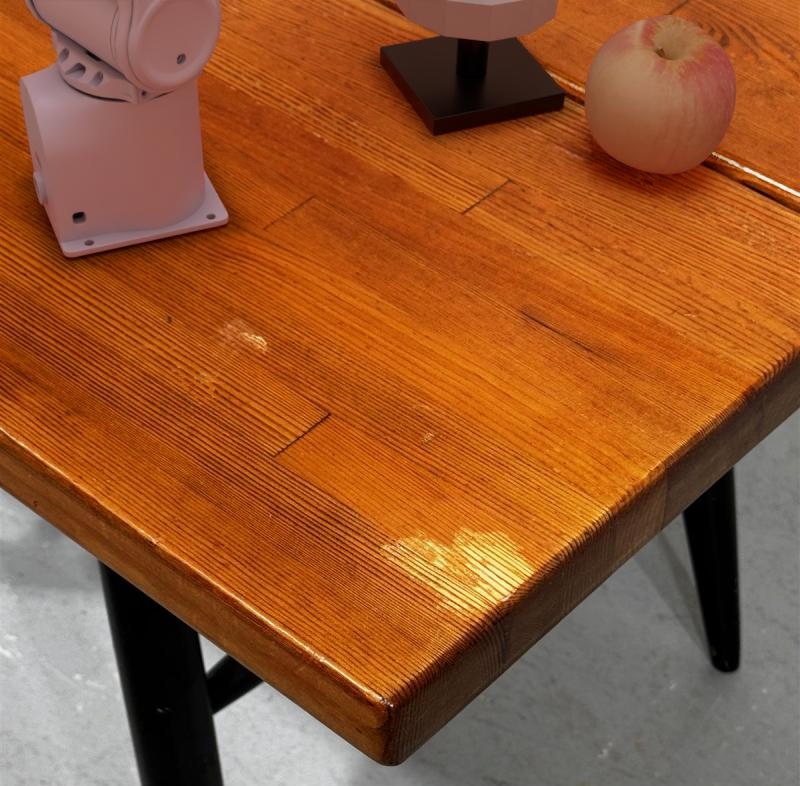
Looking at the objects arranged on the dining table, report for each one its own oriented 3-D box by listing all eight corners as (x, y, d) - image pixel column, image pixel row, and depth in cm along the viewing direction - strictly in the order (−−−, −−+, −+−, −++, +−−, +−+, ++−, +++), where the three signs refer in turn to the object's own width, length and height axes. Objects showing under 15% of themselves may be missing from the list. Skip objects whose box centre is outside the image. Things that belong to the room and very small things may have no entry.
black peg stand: (433, 136, 90) (438, 45, 85) (379, 62, 95) (381, -26, 91) (563, 109, 92) (575, 19, 88) (503, 39, 98) (511, -49, 93)
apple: (655, 102, 93) (676, -15, 87) (751, 171, 88) (780, 52, 82) (547, 142, 90) (562, 23, 84) (640, 216, 85) (662, 95, 79)
